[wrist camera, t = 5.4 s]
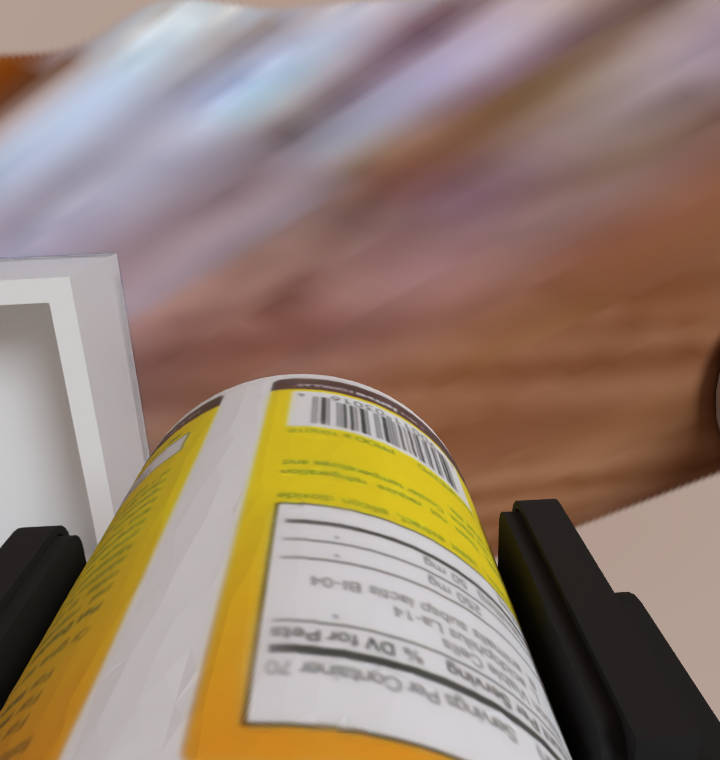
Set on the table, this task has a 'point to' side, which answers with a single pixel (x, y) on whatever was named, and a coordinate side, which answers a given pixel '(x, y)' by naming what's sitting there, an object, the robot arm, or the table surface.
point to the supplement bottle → (288, 601)
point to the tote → (66, 396)
